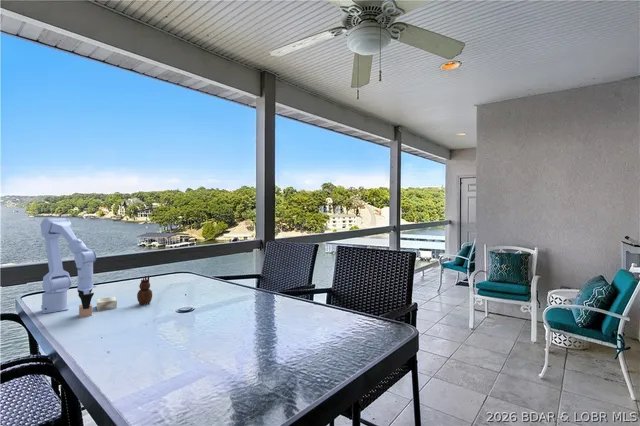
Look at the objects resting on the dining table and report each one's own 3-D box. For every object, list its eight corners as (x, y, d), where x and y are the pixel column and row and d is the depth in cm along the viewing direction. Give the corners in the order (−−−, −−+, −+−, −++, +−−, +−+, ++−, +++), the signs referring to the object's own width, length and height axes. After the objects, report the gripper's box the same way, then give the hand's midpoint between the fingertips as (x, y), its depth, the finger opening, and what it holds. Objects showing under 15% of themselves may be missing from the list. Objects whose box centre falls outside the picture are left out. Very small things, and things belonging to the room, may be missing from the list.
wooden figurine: (154, 302, 169) (154, 273, 169) (147, 305, 164) (147, 276, 163) (142, 301, 170) (142, 273, 170) (134, 305, 164) (135, 275, 164)
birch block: (96, 311, 155) (97, 302, 155) (96, 306, 162) (96, 298, 162) (116, 308, 160) (116, 300, 160) (115, 304, 166) (115, 296, 166)
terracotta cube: (79, 317, 146) (79, 307, 146) (79, 314, 149) (79, 305, 149) (91, 315, 149) (91, 305, 148) (91, 312, 152) (91, 303, 152)
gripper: (97, 278, 145) (97, 308, 146) (94, 273, 157) (94, 301, 157) (77, 280, 141) (78, 312, 141) (76, 275, 152) (76, 304, 152)
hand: (85, 306), depth 149 cm, fingers open, 7 cm apart
